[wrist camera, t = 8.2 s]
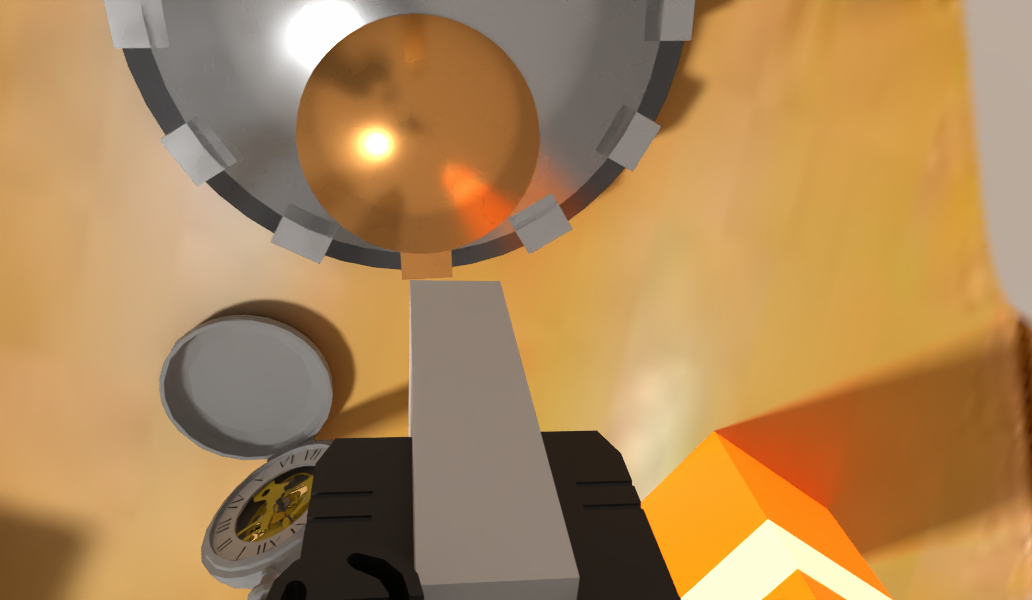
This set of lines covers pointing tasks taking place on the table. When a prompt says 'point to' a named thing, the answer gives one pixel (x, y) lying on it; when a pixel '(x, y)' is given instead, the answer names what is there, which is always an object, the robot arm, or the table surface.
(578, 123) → the sprocket
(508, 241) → the base plate
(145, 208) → the table surface
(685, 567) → the orange juice
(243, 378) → the pocket watch
